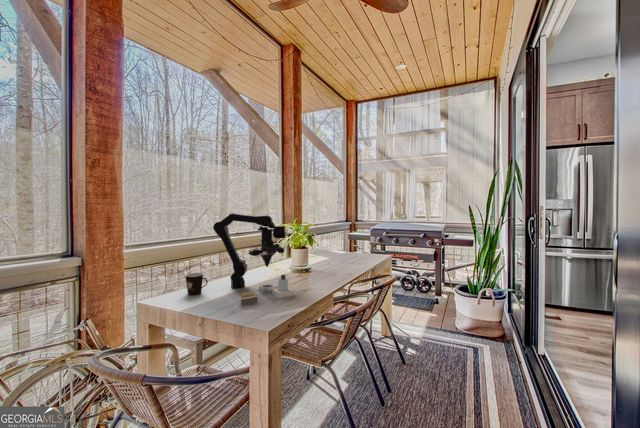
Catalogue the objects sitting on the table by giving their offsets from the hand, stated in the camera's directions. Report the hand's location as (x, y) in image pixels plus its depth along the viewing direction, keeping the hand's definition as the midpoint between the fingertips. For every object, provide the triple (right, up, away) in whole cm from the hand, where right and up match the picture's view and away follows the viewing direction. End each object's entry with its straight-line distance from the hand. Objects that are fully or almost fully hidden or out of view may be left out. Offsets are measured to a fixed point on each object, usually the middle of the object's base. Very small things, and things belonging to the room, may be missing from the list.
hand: (266, 266), depth 167 cm
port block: (+11, -12, -13) cm, 21 cm away
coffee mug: (-35, -13, -9) cm, 39 cm away
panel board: (+7, -13, -11) cm, 18 cm away
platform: (-4, -14, -26) cm, 30 cm away
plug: (+11, -12, -13) cm, 21 cm away
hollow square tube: (+1, -12, -7) cm, 14 cm away
